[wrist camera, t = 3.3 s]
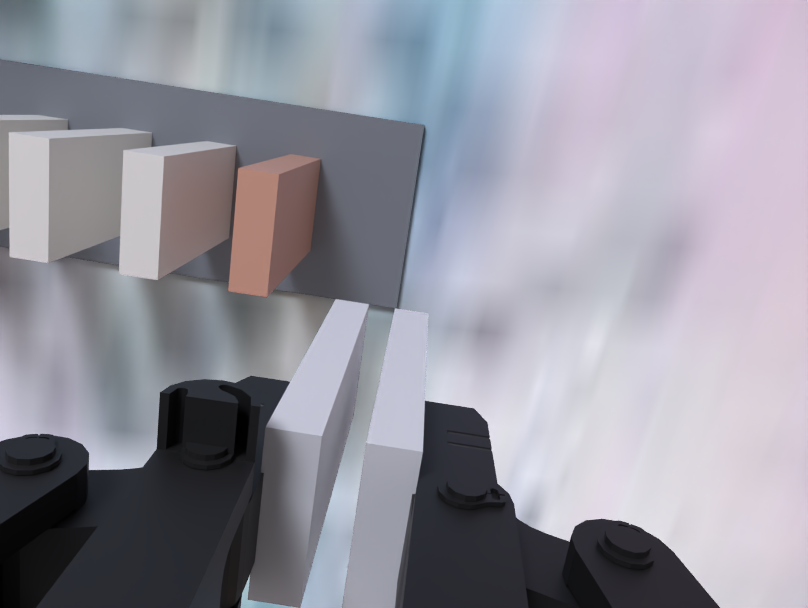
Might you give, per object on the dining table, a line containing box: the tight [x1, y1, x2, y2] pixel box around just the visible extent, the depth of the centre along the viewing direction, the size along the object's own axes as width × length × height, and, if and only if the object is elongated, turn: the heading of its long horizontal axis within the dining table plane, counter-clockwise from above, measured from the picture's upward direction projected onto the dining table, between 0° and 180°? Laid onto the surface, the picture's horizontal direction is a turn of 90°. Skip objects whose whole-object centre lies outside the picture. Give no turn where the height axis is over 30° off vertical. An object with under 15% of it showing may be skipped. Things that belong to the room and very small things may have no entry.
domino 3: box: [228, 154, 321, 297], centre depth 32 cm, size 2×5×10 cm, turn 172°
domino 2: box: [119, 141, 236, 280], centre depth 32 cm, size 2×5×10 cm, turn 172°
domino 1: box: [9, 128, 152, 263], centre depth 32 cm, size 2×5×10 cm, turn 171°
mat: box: [0, 60, 424, 308], centre depth 37 cm, size 30×10×1 cm, turn 81°
